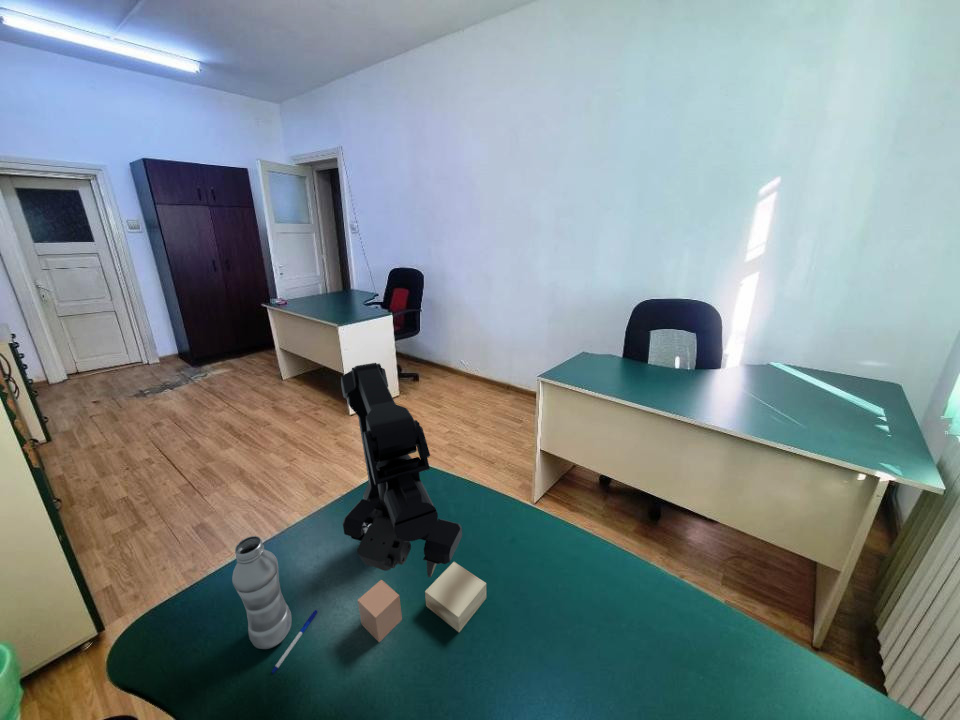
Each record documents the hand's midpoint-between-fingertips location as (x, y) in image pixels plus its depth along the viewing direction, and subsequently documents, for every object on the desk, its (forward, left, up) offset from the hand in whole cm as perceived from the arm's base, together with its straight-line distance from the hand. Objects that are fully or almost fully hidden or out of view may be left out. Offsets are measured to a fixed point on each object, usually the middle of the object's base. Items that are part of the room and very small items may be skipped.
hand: (405, 567), depth 62 cm
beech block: (+4, +7, -13) cm, 15 cm away
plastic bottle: (-17, -17, -13) cm, 27 cm away
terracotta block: (-4, -4, -12) cm, 14 cm away
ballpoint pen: (-13, -15, -13) cm, 23 cm away
